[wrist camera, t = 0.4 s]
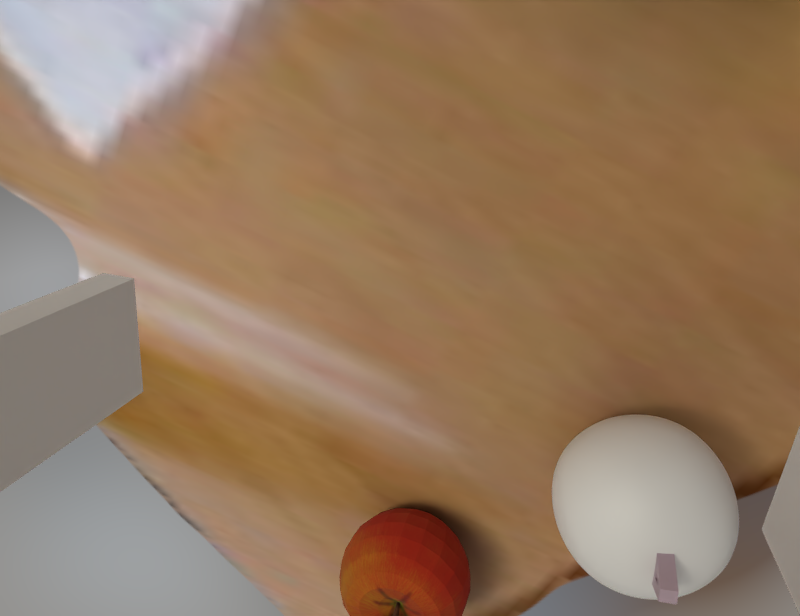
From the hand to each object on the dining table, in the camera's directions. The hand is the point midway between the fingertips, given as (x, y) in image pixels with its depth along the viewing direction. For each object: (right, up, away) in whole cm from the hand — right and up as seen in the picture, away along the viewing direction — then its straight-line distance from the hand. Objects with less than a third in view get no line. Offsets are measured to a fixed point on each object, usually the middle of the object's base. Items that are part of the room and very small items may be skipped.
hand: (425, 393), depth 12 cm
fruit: (+1, -16, +36) cm, 40 cm away
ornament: (+15, -8, +29) cm, 34 cm away
